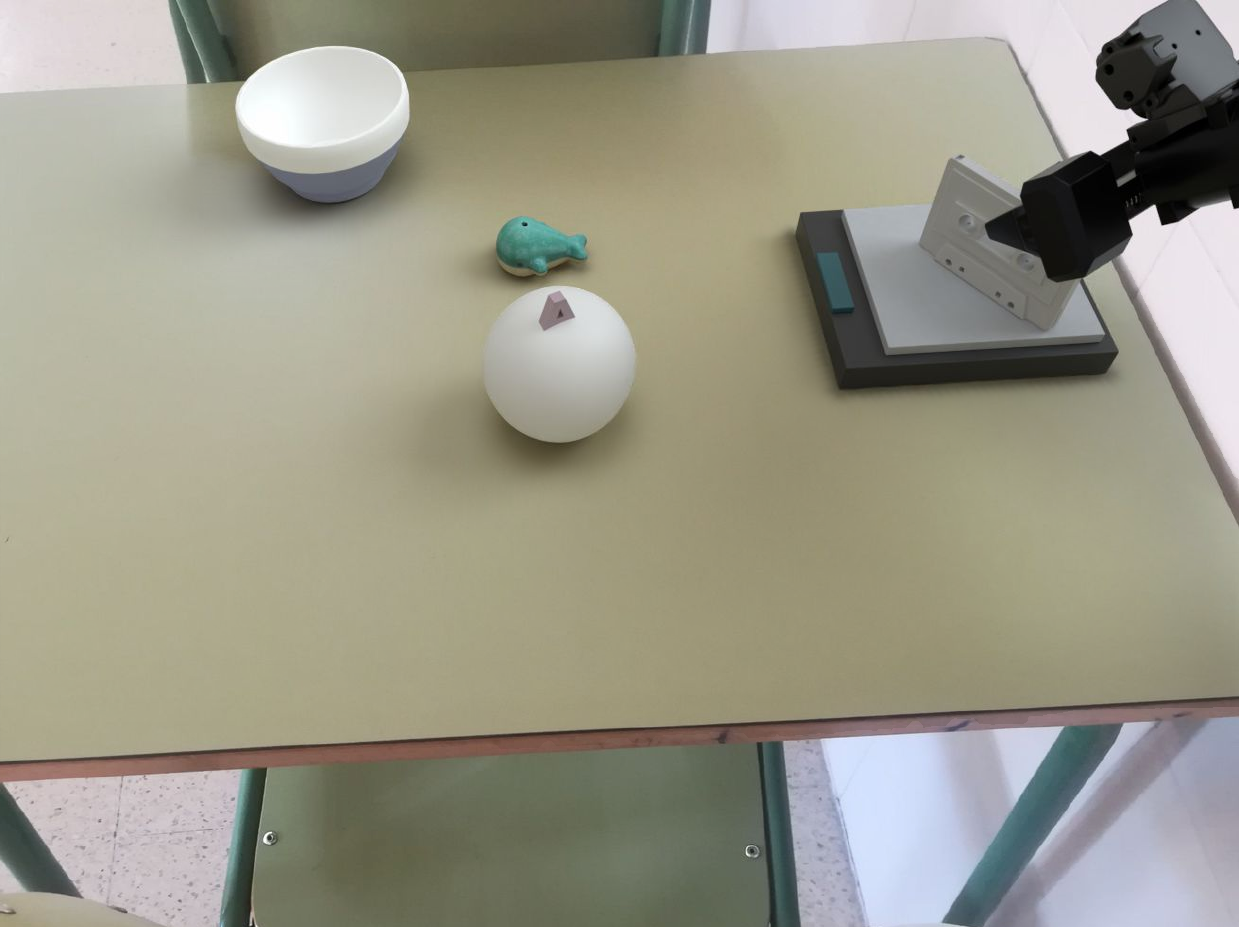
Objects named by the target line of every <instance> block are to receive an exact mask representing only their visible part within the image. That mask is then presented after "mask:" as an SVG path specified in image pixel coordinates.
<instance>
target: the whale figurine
mask: <svg viewBox="0 0 1239 927" xmlns="http://www.w3.org/2000/svg"><path fill="white" fill-rule="evenodd" d="M587 243H588V238H587V237H586V235H585V234H581V233H580V234H574V235H571V236H568V235H567V234H564V233H563V232H561V231H559V230H557V229H556V228H554V227H552V226H550V225H547V223H545V221H539V220H536V219H535V218H533V217H530V216H524V215H522V216H517V217H514V218H511V219H510V220H508V221H507V222H506V223H505V224H504V225H503V226H502V227H501V228H500V230H499V232H498V233H497V237H496V240H495V253H496V260H497V262H498V263H499V265H500V267H501V268H502V269H504V270H505V271H506V272H507V273H509V274H511V275H514V276H517V277H528V276H532V275H537V276H539V277H543V276H546V274H547V273H548V270H550V269H552V268H554V267H557V266H559V265H561V264H563V263H565V262H567V261H573V262H575V263H585V262H586V261H587V260H588V253H587V251H586V246H587Z"/></svg>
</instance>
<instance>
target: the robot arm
mask: <svg viewBox="0 0 1239 927" xmlns="http://www.w3.org/2000/svg"><path fill="white" fill-rule="evenodd" d="M1095 64H1096V65H1095V66H1096V69H1095V76H1094V78H1095V82H1096V83H1097V85H1098V86H1099V88H1100V89H1101V90H1102V92H1103V93H1104V95H1106V97H1107V99H1108V100H1109V101H1110V102H1111V103H1112V105H1113V107H1114V108H1115V109H1117V110H1119V111H1128V110H1131V112H1132V113H1133V114H1135V115H1136V116H1137V117H1139V118H1141V119H1144V120H1143V121H1139V122H1137V123H1135V124H1133V125H1131V126H1129V127H1128V128H1126V129H1125V131H1126V134H1127V137H1128V139H1126V140H1125V141H1123V142H1121V143H1119V144H1118V145H1115V146H1114V147H1112V148H1110V149H1108V150H1107V151H1105V152H1103V153H1101V154H1098V153H1096V152H1094V151H1093V150H1087V151H1084V152H1082V153H1078V154H1075V155H1073V156H1070V157H1067V158H1066V159H1064V160H1059V161H1057V162H1056V163H1054V164H1053V165H1051V166H1049V167H1047V168H1046V169H1044V170H1042V171H1041V172H1039V173H1037V174H1035V175H1034V176H1032V177H1031V178H1028V179H1027V180H1025V181H1024V182H1022V186H1021V189H1020V190H1021V193H1020V198H1021V201H1022V204H1020V205H1018V206H1016V207H1014V208H1012V209H1010V210H1009V211H1007V212H1005V213H1003V214H1001V215H999V216H997V217H995V218H994V219H992V220H990V221H988V222H986V223H985V230H986V232H987V235H988V238H989V239H991V240H993V241H996V242H999V243H1002V244H1004V245H1007V246H1010V247H1013V248H1016V249H1018V250H1021V251H1024V252H1026V253H1029V254H1032V255H1034V256H1036V257H1039V258H1040V259H1041V261H1042V264H1043V267H1044V270H1045V273H1046V276H1047V278H1048V279H1050V280H1052V281H1054V282H1056V283H1059V282H1064V281H1069V280H1074V279H1080V278H1083V279H1085V278H1087V277H1088V276H1089V275H1091V274H1092V273H1094V272H1096V271H1097V270H1098V269H1100V268H1102V267H1103V266H1105V265H1106V264H1108V263H1109V262H1111V261H1113V260H1114V259H1116V258H1117V257H1119V256H1120V255H1122V254H1124V252H1125V250H1126V249H1127V246H1128V245H1129V243H1130V241H1131V239H1132V238H1133V236H1134V234H1133V229H1132V226H1131V224H1130V221H1131V220H1133V219H1134V218H1136V217H1137V216H1139V215H1140V214H1142V213H1143V212H1146V211H1147V210H1148V209H1150V208H1152V207H1153V206H1155V209H1156V212H1157V217H1158V219H1159V223H1160V226H1161V227H1162V226H1167V225H1171V224H1175V223H1179V222H1181V221H1183V220H1184V219H1186V218H1187V217H1188V216H1190V215H1192V214H1193V213H1195V212H1196V211H1198V210H1199V209H1201V208H1206V207H1209V206H1212V205H1218V204H1221V203H1225V202H1231V204H1232V209H1233V210H1237V209H1239V59H1238V60H1237V58H1236V57H1235V54H1234V50H1233V48H1232V46H1231V44H1230V42H1228V40H1227V39H1226V37H1225V36H1224V34H1223V33H1222V32H1221V31H1220V30H1219V28H1218V27H1217V25H1216V24H1215V23H1214V21H1212V18H1211V17H1210V16H1209V15H1208V14H1207V12H1206V11H1205V9H1204V8H1203V7H1202V6H1201V4H1200V3H1199V2H1198V1H1197V0H1166V1H1164V2H1162V3H1160V4H1159V5H1157V6H1155V7H1153V8H1152V9H1149V10H1147V11H1146V12H1144V13H1143V14H1141V15H1140V16H1139V17H1138V18H1136V19H1135V21H1133V23H1131V24H1130V25H1129V26H1127V28H1126V29H1125V30H1123V31H1122V32H1121V33H1120V34H1119V35H1117V36H1116V37H1114V38H1111V39H1110V40H1109V41H1106V42H1105V43H1104V44H1103V45H1102V47H1101V50H1100V53H1098V55H1097V56H1096V59H1095Z"/></svg>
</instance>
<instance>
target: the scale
mask: <svg viewBox="0 0 1239 927" xmlns="http://www.w3.org/2000/svg"><path fill="white" fill-rule="evenodd" d="M932 204H933V202H932V203H917V204H904V205H887V206H873V207H872V206H871V207H858V208H857V207H856V208H844V209H829V210H816V211H815V210H814V211H813V210H812V211H801V212H800V213H799V217H798V221H797V225H796V229H795V233H794V235H795V238H796V241H797V245H798V248H799V251H800V252H799V253H800V256H801V259H802V262H803V263H802V264H803V265H804V269H805V273H806V277H807V280H808V283H809V287H810V290H811V294H812V297H813V301H814V304H815V309H816V311H817V315H818V319H819V322H820V325H821V329H822V333H823V336H824V339H825V343H826V348H827V350H828V354H829V357H830V361H831V364H832V366H833V368H832V369H833V371H834V374H835V377H836V381H837V385H838V388H839V390H850V389H865V388H881V387H882V388H884V387H897V386H898V387H899V386H913V385H914V386H915V385H930V384H932V385H933V384H947V383H949V384H950V383H966V382H982V381H998V380H1016V379H1017V380H1018V379H1029V378H1030V379H1031V378H1033V379H1034V378H1047V377H1049V378H1050V377H1063V376H1080V375H1081V376H1083V375H1095V374H1096V375H1097V374H1107V372H1108V371H1109V369H1110V368H1111V366H1112V365H1113V362H1114V361H1115V360H1116V358H1117V356H1118V355H1119V353H1120V350H1119V349H1118V346H1117V343H1116V342H1115V340H1114V338H1113V336H1112V334H1111V332H1110V330H1109V328H1108V325H1107V324H1106V322H1105V320H1104V318H1103V316H1102V314H1101V312H1100V310H1099V308H1098V305H1097V303H1096V302H1095V300H1094V297H1093V296H1092V293H1091V292H1090V290H1089V288H1088V286H1087V284H1086V282H1085V280H1084V279H1085V278H1081V280H1080V282H1079V284H1078V286H1077V288H1076V289H1075V291H1074V293H1073V295H1072V297H1071V299H1070V301H1069V302H1068V304H1067V306H1066V308H1065V310H1064V312H1063V314H1062V315H1061V317H1060V319H1059V321H1058V323H1057V324H1056V326H1055V327H1053V328H1050V329H1049V330H1047V331H1045V330H1042V329H1041V328H1039V327H1038V326H1036V325H1035V324H1033V323H1032V322H1030V321H1029V320H1027V319H1023V320H1022V319H1020V318H1019V317H1017V316H1016V315H1014V314H1013V313H1012V312H1010V311H1009V310H1007V309H1006V308H1004V307H1003V306H1001V305H1000V304H998V303H997V302H996V301H994V300H993V299H991V298H990V297H988V296H987V295H985V294H984V293H982V292H981V291H980V290H978V289H977V288H975V287H974V286H972V285H971V284H969V283H968V282H967V281H965V280H964V279H962V278H961V277H959V276H958V275H956V274H955V273H953V272H952V271H951V270H949V269H948V268H946V267H945V266H943V265H942V264H940V263H939V262H938V261H936V260H935V259H934V258H935V256H934V255H933V254H931V253H930V252H929V251H927V250H926V249H924V248H923V247H922V246H921V245H920V243H919V240H920V237H921V235H922V232H923V229H924V226H925V224H926V221H927V218H928V215H929V212H930V210H931V207H932Z"/></svg>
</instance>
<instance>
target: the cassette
mask: <svg viewBox="0 0 1239 927" xmlns="http://www.w3.org/2000/svg"><path fill="white" fill-rule="evenodd" d="M1020 193H1021V189H1020V188H1019V187H1016V186H1015V185H1013V184H1012V183H1010V182H1009V181H1006V179H1004V178H1002V177H1000V176H998V175H997V174H995V173H994V172H993V171H990V170H989V169H987V168H986V167H984V166H982V165H981V164H979V163H978V162H975V161H974V160H972V159H971V158H970V157H968V156H966V155H965V154H963V153H956V154H955V155H953V156H951V157H950V158H949V159H948V160H947V161H946V165H945V167H944V171H943V174H942V176H941V179H940V182H939V185H938V187H937V190H936V193H935V196H934V198H933V201H932V203H933V204H932V203H931V204H932V207H931V210H930V212H929V215H928V218H927V221H926V224H925V226H924V229H923V232H922V235H921V237H920V240H919V243H920V245H921V246H922V247H923V248H924V249H926V250H927V251H929V252H930V253H931V254H933V255H934V256H935V258H934V259H935V260H936V261H938V262H939V263H940V264H942V265H943V266H945V267H946V268H948V269H949V270H951V271H952V272H953V273H955V274H956V275H958V276H959V277H961V278H962V279H964V280H965V281H967V282H968V283H969V284H971V285H972V286H974V287H975V288H977V289H978V290H980V291H981V292H982V293H984V294H985V295H987V296H988V297H990V298H991V299H993V300H994V301H996V302H997V303H998V304H1000V305H1001V306H1003V307H1004V308H1006V309H1007V310H1009V311H1010V312H1012V313H1013V314H1014V315H1016V316H1017V317H1019V318H1020V319H1022V320H1023V319H1027V320H1029V321H1030V322H1032V323H1033V324H1035V325H1036V326H1038V327H1039V328H1041V329H1042V330H1045V331H1047V330H1049V329H1050V328H1053V327H1055V326H1056V324H1057V323H1058V321H1059V319H1060V317H1061V315H1062V314H1063V312H1064V310H1065V308H1066V306H1067V304H1068V302H1069V301H1070V299H1071V297H1072V295H1073V293H1074V291H1075V289H1076V288H1077V286H1078V284H1079V282H1080V280H1081V278H1080V279H1074V280H1069V281H1064V282H1059V283H1056V282H1054V281H1052V280H1050V279H1048V278H1047V276H1046V273H1045V270H1044V267H1043V264H1042V261H1041V259H1040V258H1039V257H1036V256H1034V255H1032V254H1029V253H1026V252H1024V251H1021V250H1018V249H1016V248H1013V247H1010V246H1007V245H1004V244H1002V243H999V242H996V241H993V240H991V239H989V238H988V235H987V232H986V230H985V223H986V222H988V221H990V220H992V219H994V218H995V217H997V216H999V215H1001V214H1003V213H1005V212H1007V211H1009V210H1010V209H1012V208H1014V207H1016V206H1018V205H1020V204H1022V201H1021V198H1020Z"/></svg>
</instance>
